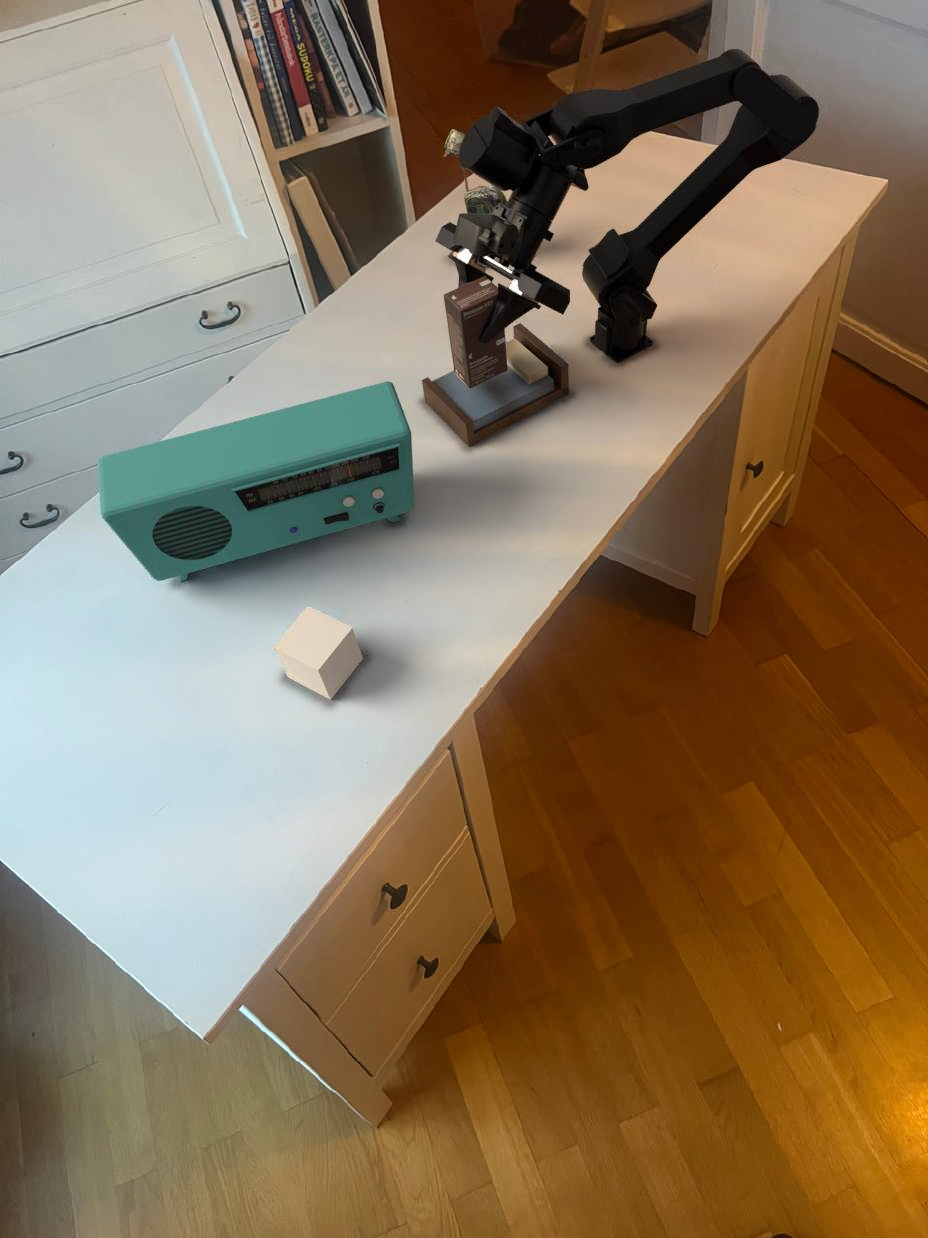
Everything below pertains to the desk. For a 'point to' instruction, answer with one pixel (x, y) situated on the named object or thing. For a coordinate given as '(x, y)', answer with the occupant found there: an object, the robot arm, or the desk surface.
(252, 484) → the radio
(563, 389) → the bed
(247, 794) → the desk surface
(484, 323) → the box
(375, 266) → the desk surface
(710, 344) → the desk surface
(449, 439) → the desk surface
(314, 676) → the cream cube
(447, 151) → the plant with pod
